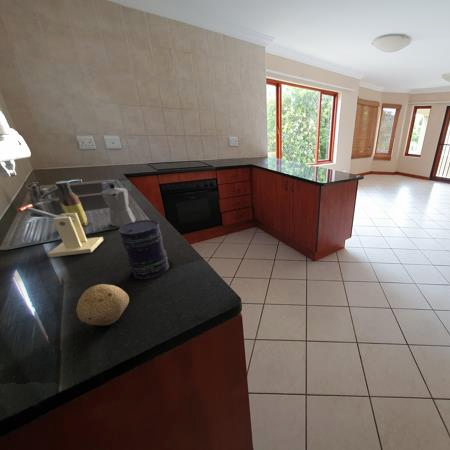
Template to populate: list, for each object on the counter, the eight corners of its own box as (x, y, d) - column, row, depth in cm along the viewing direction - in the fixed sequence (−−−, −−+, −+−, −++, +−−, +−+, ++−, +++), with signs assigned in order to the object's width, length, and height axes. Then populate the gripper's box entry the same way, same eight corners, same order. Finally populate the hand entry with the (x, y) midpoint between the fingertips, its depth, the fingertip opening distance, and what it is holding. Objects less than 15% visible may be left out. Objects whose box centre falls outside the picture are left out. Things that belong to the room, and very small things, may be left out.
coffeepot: (137, 225, 106) (125, 185, 99) (111, 230, 101) (97, 188, 94) (135, 214, 118) (124, 179, 110) (111, 218, 113) (99, 181, 105)
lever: (15, 212, 75) (17, 206, 75) (27, 207, 79) (28, 201, 79) (67, 227, 81) (68, 221, 80) (74, 222, 85) (76, 216, 85)
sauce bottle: (74, 224, 106) (56, 180, 99) (91, 222, 108) (75, 179, 101) (67, 229, 101) (47, 184, 93) (85, 227, 103) (67, 182, 95)
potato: (73, 339, 50) (54, 302, 46) (101, 309, 59) (87, 275, 55) (118, 336, 51) (103, 300, 47) (140, 307, 59) (129, 274, 55)
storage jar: (151, 259, 80) (140, 218, 74) (176, 263, 78) (166, 221, 72) (124, 276, 71) (109, 231, 65) (151, 281, 69) (138, 235, 63)
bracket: (49, 257, 80) (32, 222, 75) (66, 244, 89) (52, 212, 84) (91, 252, 84) (78, 219, 79) (103, 240, 92) (92, 209, 87)
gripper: (1, 127, 76) (21, 170, 81) (-66, 129, 58) (-35, 184, 63) (26, 127, 78) (44, 170, 83) (-32, 129, 60) (-4, 183, 65)
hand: (9, 176), depth 73 cm, fingers closed
